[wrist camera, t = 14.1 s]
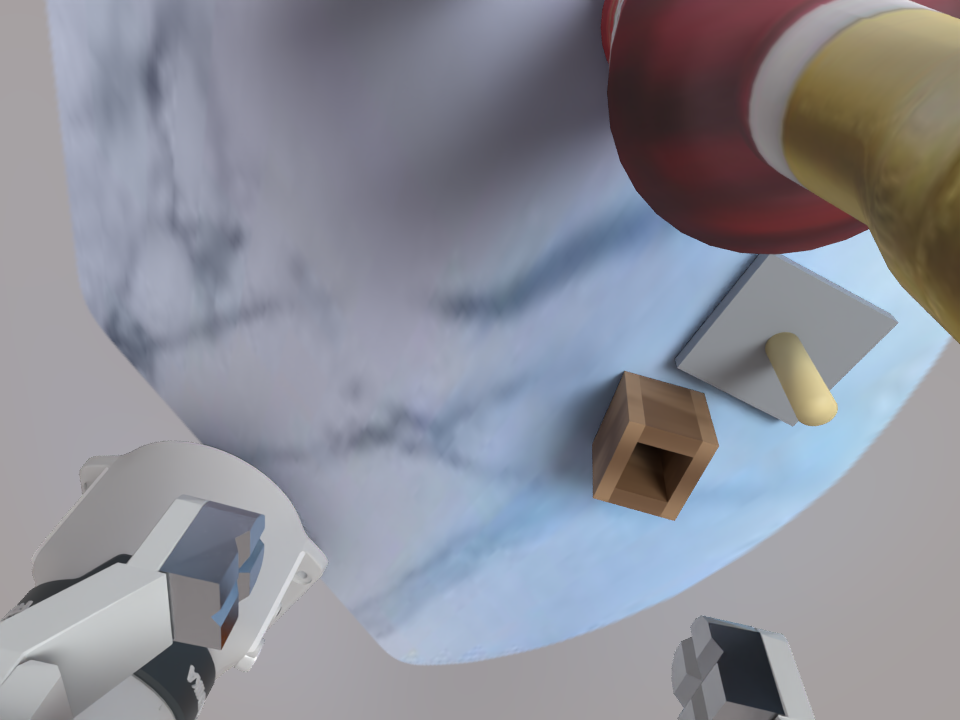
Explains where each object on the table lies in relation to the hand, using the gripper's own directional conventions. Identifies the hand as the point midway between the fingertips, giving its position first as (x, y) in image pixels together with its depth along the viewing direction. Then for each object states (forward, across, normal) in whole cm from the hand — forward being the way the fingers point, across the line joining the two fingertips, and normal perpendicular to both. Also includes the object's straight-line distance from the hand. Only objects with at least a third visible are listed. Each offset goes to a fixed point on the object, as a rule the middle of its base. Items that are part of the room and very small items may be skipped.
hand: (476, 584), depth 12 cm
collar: (+25, -10, +12) cm, 30 cm away
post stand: (+25, -15, +5) cm, 29 cm away
